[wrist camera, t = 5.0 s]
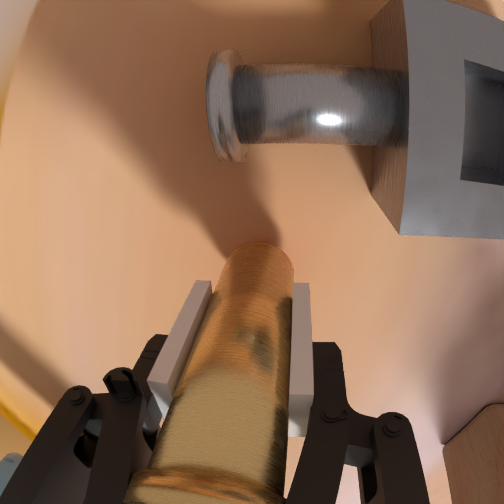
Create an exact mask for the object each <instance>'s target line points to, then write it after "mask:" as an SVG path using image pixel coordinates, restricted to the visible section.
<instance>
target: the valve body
mask: <svg viewBox="0 0 504 504" xmlns="http://www.w3.org/2000/svg"><path fill="white" fill-rule="evenodd" d="M370 22H371V34H372V49H373V67H366V66H354V65H339V64H314V63H279V64H254V65H244V64H243V60H242V57H241V54H240V52H239V51H238V49H225V50H216V51H214V52H213V54H212V56H211V58H210V61H209V65H208V71H207V80H206V106H207V117H208V125H209V131H210V136H211V140H212V144H213V147H214V150H215V153H216V155H217V157H218V159H219V160H220V161H221V162H222V163H231V162H243V161H244V160H245V157H246V154H247V148H248V144H269V143H311V144H344V145H364V146H374V152H373V173H372V189H371V196H372V197H373V198H374V200H375V201H376V203H377V204H378V205H379V207H380V208H381V210H382V211H383V212H384V214H385V215H386V217H387V218H388V219H389V221H390V222H391V224H392V225H393V227H394V228H395V230H396V231H397V232H398V234H399V235H416V236H444V237H468V238H490V239H504V21H502V20H500V19H497V18H495V17H492V16H490V15H487V14H485V13H482V12H479V11H477V10H474V9H471V8H468V7H465V6H462V5H459V4H456V3H453V2H449V1H446V0H390V1H389V2H388V3H387V4H386V5H385V6H384V7H383V8H382V9H381V10H380V11H379V12H378V13H377V14H376V15H375V16H374V17H373V18H372V19H371V20H370Z"/></svg>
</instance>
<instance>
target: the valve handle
mask: <svg viewBox="0 0 504 504" xmlns="http://www.w3.org/2000/svg"><path fill="white" fill-rule="evenodd" d="M293 283H294V270H293V265H292V263H291V261H290V259H289V257H288V256H287V255H286V254H285V253H284V252H283V251H282V250H281V249H279V248H278V247H276V246H274V245H272V244H268V243H264V242H251V243H246V244H243V245H241V246H239V247H238V248H236V249H235V250H234V251H233V252H232V253H231V254H230V255H229V257H228V258H227V261H226V263H225V266H224V268H223V270H222V273H221V275H220V278H219V280H218V283H217V285H216V288H215V290H214V293H213V295H212V298H211V300H210V303H209V305H208V308H207V310H206V313H205V316H204V318H203V321H202V323H201V326H200V328H199V331H198V333H197V336H196V338H195V341H194V344H193V346H192V349H191V351H190V354H189V356H188V359H187V362H186V364H185V367H184V369H183V372H182V375H181V377H180V380H179V382H178V385H177V388H176V390H175V393H174V396H173V398H172V401H171V404H170V406H169V409H168V412H167V414H166V417H165V420H164V422H163V425H162V428H161V430H160V433H159V436H158V438H157V441H156V444H155V447H154V449H153V452H152V455H151V458H150V460H149V463H148V466H147V469H143V470H138V471H136V472H135V473H133V475H132V478H131V481H130V483H129V486H128V489H127V492H126V495H125V497H124V500H123V502H124V503H126V504H285V503H286V500H287V499H285V498H284V497H283V496H284V485H285V472H286V459H287V445H288V429H289V412H288V405H289V386H290V364H291V338H292V302H293Z"/></svg>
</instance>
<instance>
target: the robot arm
mask: <svg viewBox="0 0 504 504" xmlns="http://www.w3.org/2000/svg"><path fill="white" fill-rule="evenodd" d="M212 295H213V293H212V286H211V281H199V280H196V281H195V283H194V285H193V287H192V289H191V291H190V293H189V295H188V297H187V299H186V301H185V303H184V305H183V307H182V309H181V311H180V313H179V315H178V317H177V319H176V321H175V323H174V325H173V327H172V329H171V331H170V333H169V335H161V334H156V335H155V336H153V337H152V338H151V339H150V340H149V341H148V342H147V344H146V346H145V348H144V349H143V351H142V353H141V355H140V358H139V359H138V361H137V362H136V364H135V366H134V368H133V370H131V369H130V368H125V367H121V368H115V369H113V370H111V371H109V372H108V373H107V374H106V375H105V377H104V378H103V381H104V383H105V385H106V387H107V389H108V391H109V393H100V394H92V393H91V391H90V390H89V388H87V387H85V386H80V385H79V386H74V387H72V388H70V389H68V390H67V391H66V392H65V394H64V395H63V397H62V398H61V399H60V401H59V402H58V404H57V405H56V407H55V408H54V410H53V411H52V413H51V414H50V416H49V417H48V419H47V420H46V422H45V423H44V425H43V427H42V428H41V430H40V431H39V433H38V434H37V436H36V437H35V439H34V441H33V442H32V444H31V445H30V447H29V449H28V450H27V452H26V453H25V455H24V456H22V455H21V454H19V453H9V454H7V455H6V456H5V457H4V458H3V459H2V460H1V461H0V504H126V503H124V502H123V500H124V497H125V495H126V492H127V489H128V486H129V483H130V481H131V478H132V475H133V473H135V472H136V471H138V470H143V469H147V466H148V463H149V460H150V458H151V455H152V452H153V449H154V447H155V444H156V441H157V438H158V436H159V433H160V430H161V427H160V425H159V423H160V421H161V418H162V417H163V419H164V420H165V417H166V414H167V412H168V409H169V406H170V404H171V401H172V398H173V396H174V393H175V390H176V388H177V385H178V382H179V380H180V377H181V375H182V372H183V369H184V367H185V364H186V362H187V359H188V356H189V354H190V351H191V349H192V346H193V344H194V341H195V338H196V336H197V333H198V331H199V328H200V326H201V323H202V321H203V318H204V316H205V313H206V310H207V308H208V305H209V303H210V300H211V298H212ZM288 412H289V429H288V437H305V441H304V445H303V448H302V452H301V455H300V458H299V462H298V465H297V468H296V472H295V475H294V478H293V481H292V485H291V488H290V491H289V494H288V497H287V500H286V503H285V504H335V503H336V498H337V494H338V490H339V485H340V481H341V476H342V471H343V466H344V464H347V465H351V466H355V467H357V471H358V479H359V489H360V499H361V504H430V502H429V497H428V492H427V487H426V482H425V478H424V473H423V469H422V465H421V461H420V457H419V452H418V449H417V445H416V441H415V437H414V433H413V430H412V426H411V423H410V422H409V420H408V418H406V417H405V416H404V415H402V414H400V413H397V412H388V413H384V414H382V415H381V416H379V417H378V418H374V417H370V416H365V415H362V414H359V413H357V412H356V411H354V410H353V409H352V408H351V407H350V405H349V404H348V401H347V396H346V387H345V378H344V371H343V363H342V355H341V350H340V349H339V347H338V346H337V345H336V343H335V342H312V326H311V307H310V290H309V283H293V302H292V338H291V364H290V386H289V405H288Z"/></svg>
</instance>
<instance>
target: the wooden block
mask: <svg viewBox="0 0 504 504" xmlns="http://www.w3.org/2000/svg"><path fill="white" fill-rule="evenodd" d="M443 457H444V462H445V466H446V471H447V476H448V482H449V487H450V493H451V499H452V504H504V404H492V405H489V406H487V407H486V408H484V409H483V410H482V411H481V412H480V413H479V414H478V415H477V416H476V417H475V418H474V419H473V420H472V421H471V422H470V423H469V424H468V425H467V426H466V427H465V428H464V429H463V430H462V431H461V432H459V433H458V434H457V435H456V436H455V437H454V438H453V439H452V440H450V441H449V442H448V443H447V444H446V445H445V446H444V447H443Z"/></svg>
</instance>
